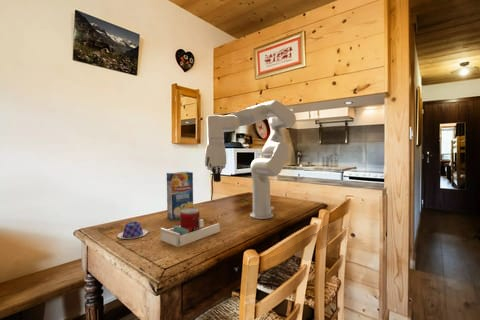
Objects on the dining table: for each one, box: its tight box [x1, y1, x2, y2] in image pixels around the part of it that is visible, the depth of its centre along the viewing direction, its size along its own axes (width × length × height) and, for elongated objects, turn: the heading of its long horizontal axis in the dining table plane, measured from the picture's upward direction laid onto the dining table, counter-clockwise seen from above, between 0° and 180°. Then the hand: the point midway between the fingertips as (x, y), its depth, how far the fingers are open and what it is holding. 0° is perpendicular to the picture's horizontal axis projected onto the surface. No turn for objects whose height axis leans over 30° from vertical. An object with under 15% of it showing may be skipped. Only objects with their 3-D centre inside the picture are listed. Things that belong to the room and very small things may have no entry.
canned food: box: [179, 207, 201, 233], centre depth 101 cm, size 8×8×11 cm
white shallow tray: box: [160, 218, 221, 248], centre depth 102 cm, size 22×12×5 cm, turn 140°
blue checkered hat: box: [116, 221, 149, 240], centre depth 104 cm, size 12×12×5 cm
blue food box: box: [166, 171, 194, 221], centre depth 131 cm, size 12×8×24 cm, turn 126°
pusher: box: [173, 225, 189, 236], centre depth 97 cm, size 2×9×4 cm, turn 50°
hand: (217, 181), depth 113 cm, fingers closed
